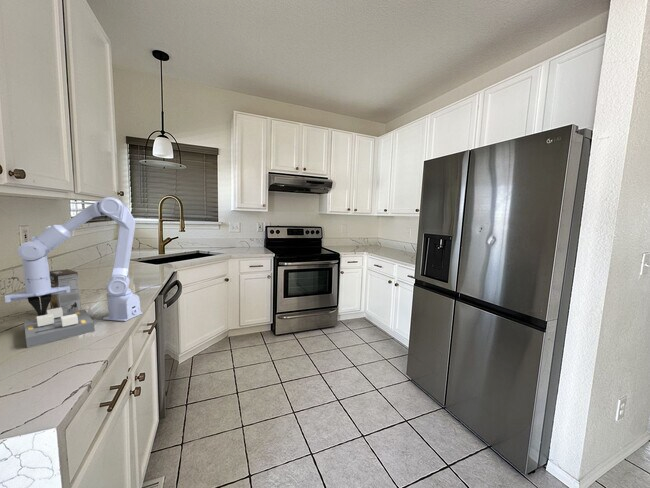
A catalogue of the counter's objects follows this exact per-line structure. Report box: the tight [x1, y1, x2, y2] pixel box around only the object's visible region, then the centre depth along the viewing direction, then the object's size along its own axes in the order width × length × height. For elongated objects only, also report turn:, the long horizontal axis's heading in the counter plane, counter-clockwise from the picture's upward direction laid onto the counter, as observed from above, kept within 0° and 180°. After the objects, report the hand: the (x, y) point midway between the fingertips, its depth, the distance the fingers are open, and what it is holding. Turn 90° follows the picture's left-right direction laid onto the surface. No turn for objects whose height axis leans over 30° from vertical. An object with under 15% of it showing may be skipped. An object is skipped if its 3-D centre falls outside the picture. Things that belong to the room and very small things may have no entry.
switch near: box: [61, 314, 78, 327], centre depth 86 cm, size 4×3×2 cm
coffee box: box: [49, 268, 82, 314], centre depth 102 cm, size 9×6×16 cm
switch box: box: [23, 309, 96, 349], centre depth 88 cm, size 15×17×3 cm
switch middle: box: [36, 313, 54, 327], centre depth 85 cm, size 4×3×2 cm
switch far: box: [46, 307, 63, 318], centre depth 91 cm, size 4×3×2 cm
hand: (42, 317), depth 89 cm, fingers closed
